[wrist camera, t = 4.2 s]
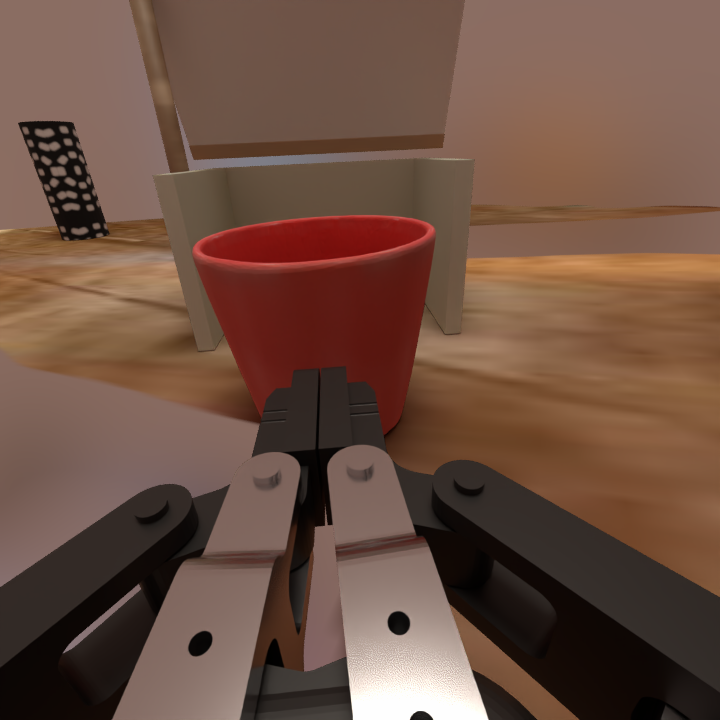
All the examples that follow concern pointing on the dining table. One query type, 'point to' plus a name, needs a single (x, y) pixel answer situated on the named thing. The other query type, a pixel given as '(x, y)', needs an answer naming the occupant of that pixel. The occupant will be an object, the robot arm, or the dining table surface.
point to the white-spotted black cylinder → (65, 178)
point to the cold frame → (319, 199)
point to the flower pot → (322, 300)
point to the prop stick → (159, 83)
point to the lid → (309, 74)
